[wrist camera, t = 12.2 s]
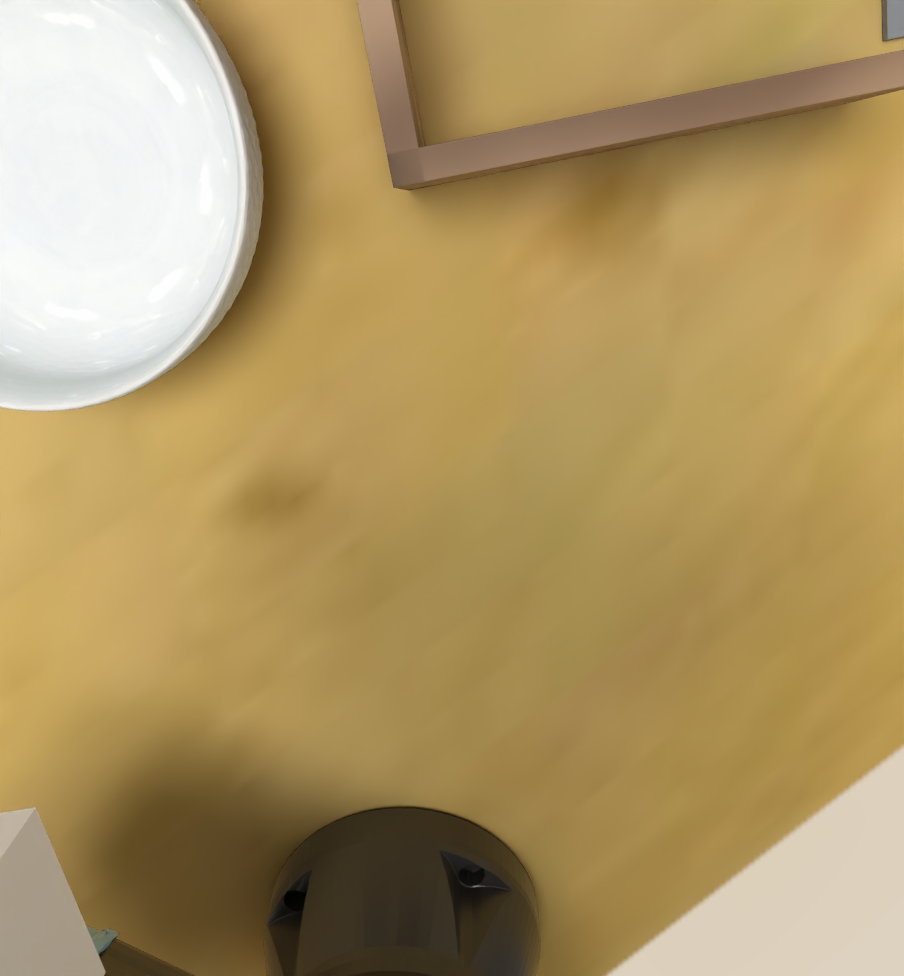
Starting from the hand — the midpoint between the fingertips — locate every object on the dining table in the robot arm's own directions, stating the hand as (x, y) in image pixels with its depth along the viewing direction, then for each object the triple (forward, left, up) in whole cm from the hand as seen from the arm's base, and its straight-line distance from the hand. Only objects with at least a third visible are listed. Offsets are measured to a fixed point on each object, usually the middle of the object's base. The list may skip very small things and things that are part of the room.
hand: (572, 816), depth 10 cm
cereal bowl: (+11, +15, -29) cm, 34 cm away
